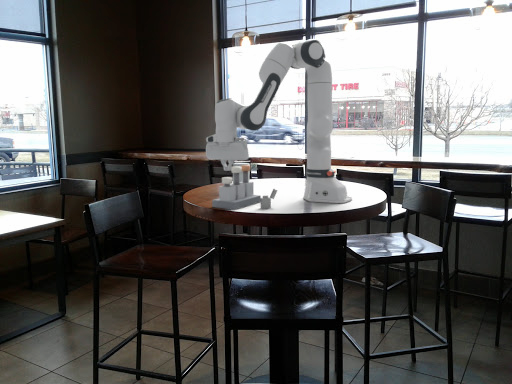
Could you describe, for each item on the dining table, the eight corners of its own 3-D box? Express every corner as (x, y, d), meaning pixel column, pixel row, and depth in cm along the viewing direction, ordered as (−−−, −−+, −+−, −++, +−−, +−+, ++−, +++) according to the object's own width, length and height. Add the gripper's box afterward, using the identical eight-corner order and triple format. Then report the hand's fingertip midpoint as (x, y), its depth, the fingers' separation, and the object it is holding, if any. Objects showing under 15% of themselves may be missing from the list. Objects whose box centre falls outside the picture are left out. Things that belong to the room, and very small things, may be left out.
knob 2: (252, 185, 202) (252, 165, 201) (247, 187, 199) (246, 166, 197) (244, 185, 205) (244, 164, 203) (239, 186, 201) (238, 165, 199)
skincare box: (232, 191, 232) (232, 163, 229) (234, 190, 238) (234, 162, 235) (248, 192, 231) (248, 163, 228) (250, 190, 237) (249, 162, 234)
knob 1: (234, 199, 191) (234, 177, 190) (228, 200, 188) (228, 178, 186) (226, 198, 194) (226, 176, 192) (220, 199, 190) (219, 177, 188)
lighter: (261, 208, 187) (261, 189, 186) (260, 207, 189) (260, 189, 188) (277, 207, 189) (277, 188, 188) (276, 206, 191) (276, 188, 190)
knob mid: (243, 187, 196) (243, 166, 195) (238, 189, 193) (237, 167, 191) (235, 187, 199) (235, 166, 197) (229, 188, 195) (229, 167, 194)
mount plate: (260, 202, 202) (260, 182, 200) (234, 209, 185) (234, 188, 184) (239, 199, 208) (238, 180, 207) (212, 206, 192) (211, 186, 190)
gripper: (251, 137, 183) (252, 170, 186) (212, 137, 194) (213, 168, 197) (242, 138, 178) (243, 172, 180) (203, 138, 189) (204, 170, 191)
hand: (227, 170), depth 189 cm, fingers closed
